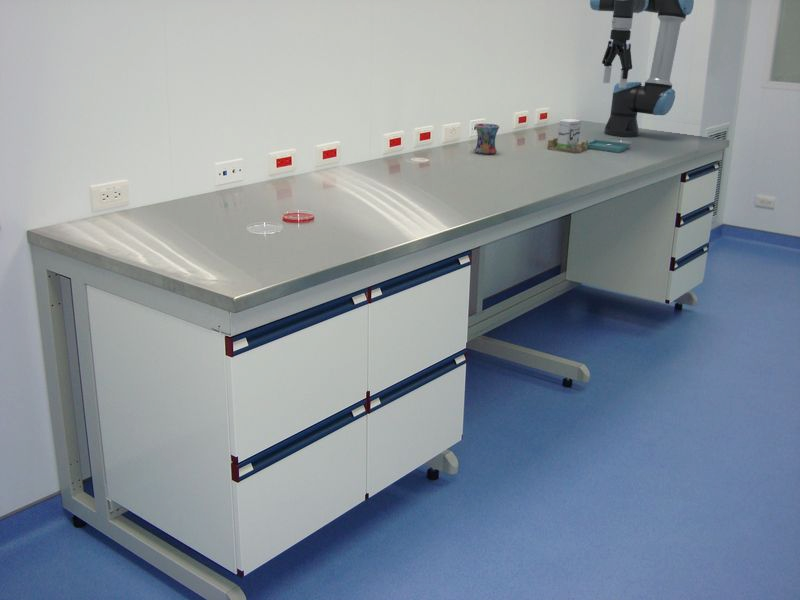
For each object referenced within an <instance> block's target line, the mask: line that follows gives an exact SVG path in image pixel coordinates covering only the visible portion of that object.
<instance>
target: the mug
mask: <svg viewBox="0 0 800 600" xmlns="http://www.w3.org/2000/svg"><path fill="white" fill-rule="evenodd" d="M474 126H475V129H476V133H477V142H476V145H475V148H474V151H475V152H476V153H477V154H482V155H492V154H496V152H497V149H496V137H497V134H498V132H499V129H500V125H498V124H494V123H476V124H475V125H474Z"/></svg>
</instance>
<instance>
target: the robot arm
mask: <svg viewBox="0 0 800 600" xmlns="http://www.w3.org/2000/svg"><path fill="white" fill-rule="evenodd" d="M694 2H695V0H589V5H590V8H591V10H593V11H598V12H613V14H612V20H611V28H612V29H611V30H610V36H609V38H610V39H611V40H608V42H607V43H608V44H607V47H606V50H605V52H604V55H603V59H602V61H601V64H602V65H603V67H604V69H603V78H602V84H610V83H611V75H612V68H613V67H612V66H613V64H612V63H613V61H615V59H616V57H617V56H618V57H619V61H620V65H621V68H620V75H619V82H618V83H615V85H614V86H613V92H612V98H611V99H612V100H611V108H610V116H609V118H608V120H607V122H606V124H605V127H604V131H603V133H604V134H606V135H609V136H616V137H631V138H632V137H638V136H639V131H640V130H639V125H638V119H637V117H638V113H639V114H646V115H653V116H665V115H668V114H669V112H670V111H671V109H672V107H673V106H674V103H675V99H676V91H675V89H673V84H672V82H671V74H672V72H673V71H672V70H673V66H674V61H675V54H676V50H677V45H678V39H679V34H680V31H681V30H680V29H681V25H682V23H683V22H684V21H685V20H686V18H687V16H689V15H690V14H691V13H692V11H693V9H694V4H695V3H694ZM642 12H648V13H654V14H657V19H658V20H659V25H658V26H659V27H658V32H657V37H656V43H655V48H654V53H653V58H652V63H651V67H650V68H651V69H650V73H649V78H648V79H646V81H644V85H642V82H641V81H628V76H629V71H630V70H632V69H633V62H632V53H631V49H632V45H631V43H627V42H628V41H630V40H631V29H632V26H633V25H632V24H633V20H634V19H633V17H634V14H639V13H642Z"/></svg>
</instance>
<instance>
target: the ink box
mask: <svg viewBox="0 0 800 600" xmlns="http://www.w3.org/2000/svg"><path fill="white" fill-rule="evenodd" d="M558 125H559V126H558V134H557V137H558V143H557V147H556V148H562V149H569V150H576V144H578V143H580V142H579V141H580V136H581V135H580V134H581V125H582V120H581V119H576V118H566V119H565V118H564V119H560V120H559V124H558Z"/></svg>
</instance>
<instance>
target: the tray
mask: <svg viewBox="0 0 800 600" xmlns="http://www.w3.org/2000/svg"><path fill="white" fill-rule="evenodd" d="M606 144H612V145H606ZM630 145H631V144H630V143H625V142H617V141H609V140H602V139H592V140H590V141H588V145H587V149H586V150H592V151H593V150H594V151H602V152H608V153H609V152H610V153H615V154H616V153H617V154H620V153H623V152H624V151H627V150H629V149H630Z"/></svg>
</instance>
